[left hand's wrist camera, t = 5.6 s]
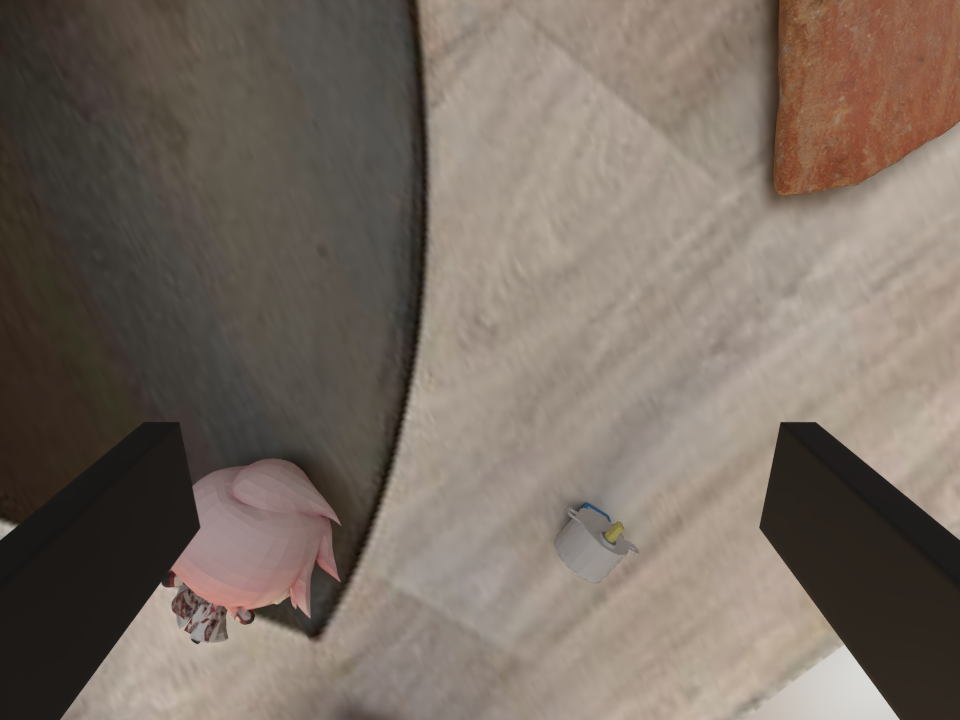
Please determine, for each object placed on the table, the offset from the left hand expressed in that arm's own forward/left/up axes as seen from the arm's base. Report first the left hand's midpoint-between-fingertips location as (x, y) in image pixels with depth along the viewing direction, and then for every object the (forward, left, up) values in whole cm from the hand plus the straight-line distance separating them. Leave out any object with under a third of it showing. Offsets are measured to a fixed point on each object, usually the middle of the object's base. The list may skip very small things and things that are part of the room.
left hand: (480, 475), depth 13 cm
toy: (+21, -16, -28) cm, 39 cm away
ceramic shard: (-12, +25, -28) cm, 39 cm away
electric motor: (+21, +9, -28) cm, 36 cm away
